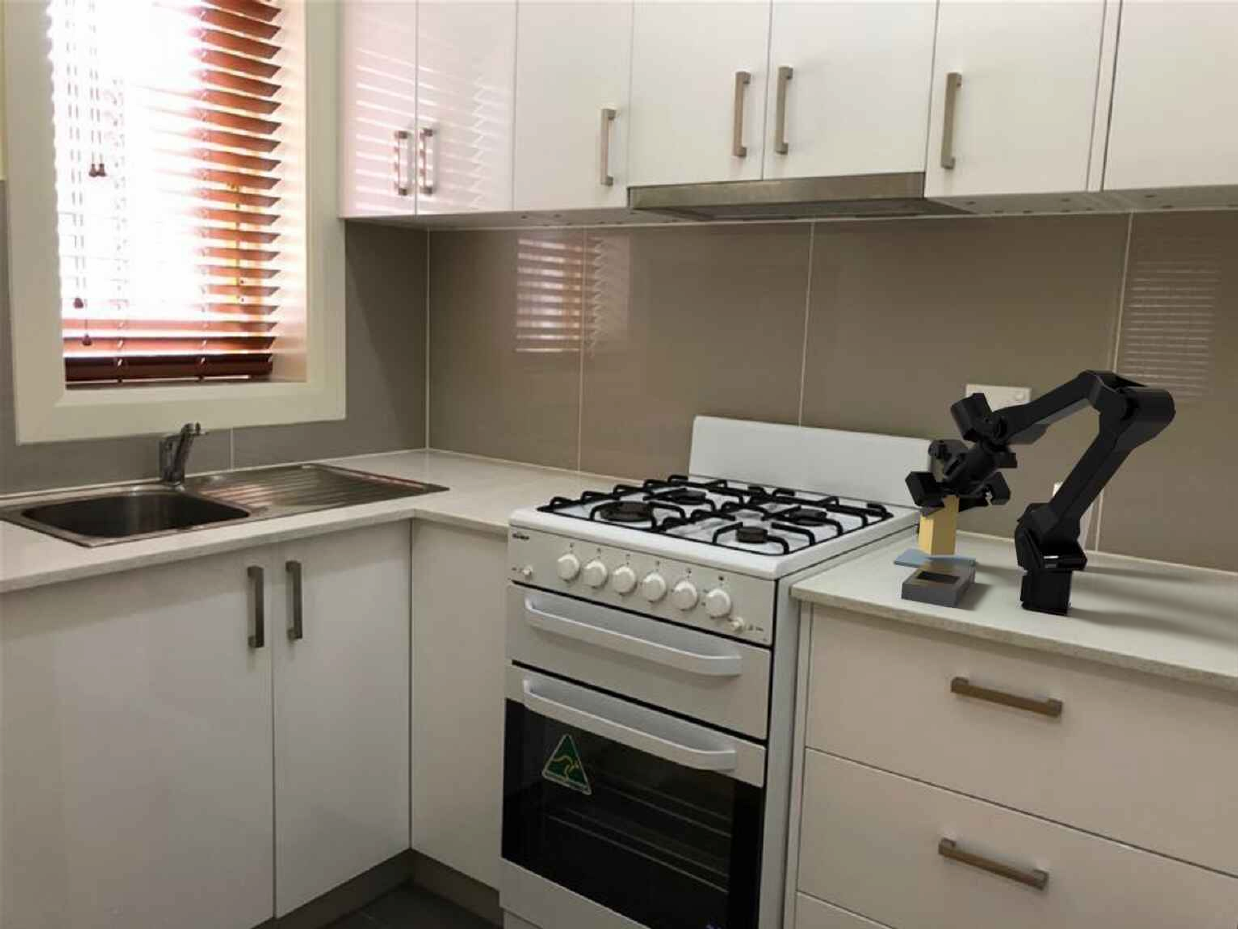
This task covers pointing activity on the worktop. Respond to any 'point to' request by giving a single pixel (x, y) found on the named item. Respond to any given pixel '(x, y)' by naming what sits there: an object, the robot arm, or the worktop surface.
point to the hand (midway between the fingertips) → (934, 514)
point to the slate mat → (930, 559)
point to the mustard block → (940, 529)
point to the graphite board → (938, 583)
